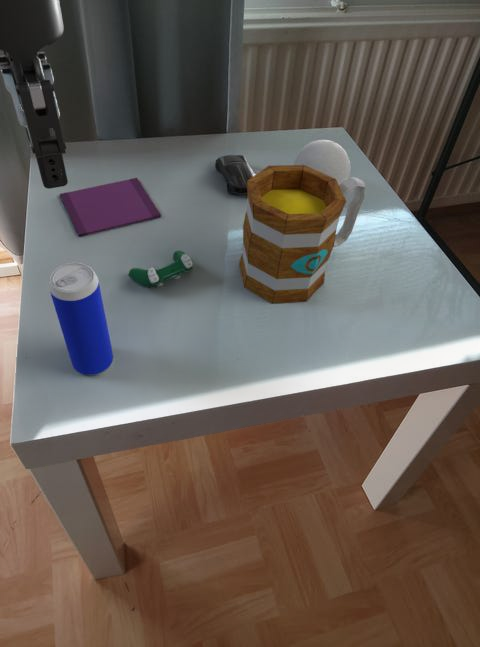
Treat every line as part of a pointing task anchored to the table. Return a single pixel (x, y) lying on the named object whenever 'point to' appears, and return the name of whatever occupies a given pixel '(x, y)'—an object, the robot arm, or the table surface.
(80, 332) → the beverage can
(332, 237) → the mug
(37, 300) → the table surface
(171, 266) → the gaming controller
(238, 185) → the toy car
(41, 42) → the robot arm
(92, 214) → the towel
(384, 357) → the table surface
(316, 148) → the ball
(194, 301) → the table surface
